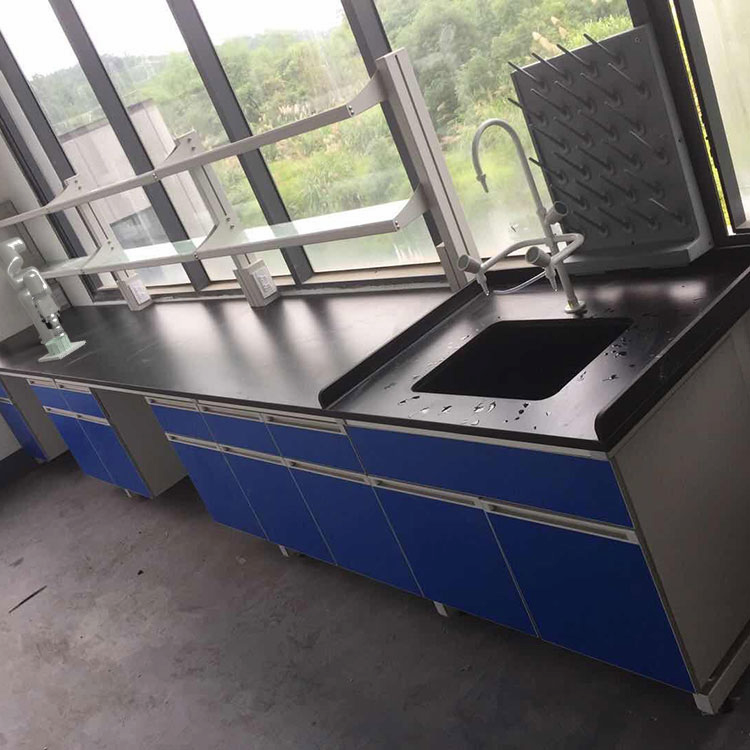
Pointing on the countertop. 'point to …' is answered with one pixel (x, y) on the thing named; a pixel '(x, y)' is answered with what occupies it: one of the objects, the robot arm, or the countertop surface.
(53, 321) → the plastic bottle
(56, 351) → the bottle stand
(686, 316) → the countertop surface
